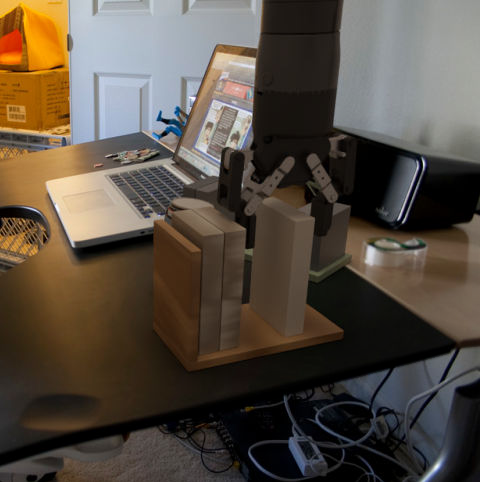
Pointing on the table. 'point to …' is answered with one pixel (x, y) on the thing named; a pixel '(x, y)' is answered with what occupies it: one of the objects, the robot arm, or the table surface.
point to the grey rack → (323, 248)
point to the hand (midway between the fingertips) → (282, 240)
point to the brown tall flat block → (281, 265)
